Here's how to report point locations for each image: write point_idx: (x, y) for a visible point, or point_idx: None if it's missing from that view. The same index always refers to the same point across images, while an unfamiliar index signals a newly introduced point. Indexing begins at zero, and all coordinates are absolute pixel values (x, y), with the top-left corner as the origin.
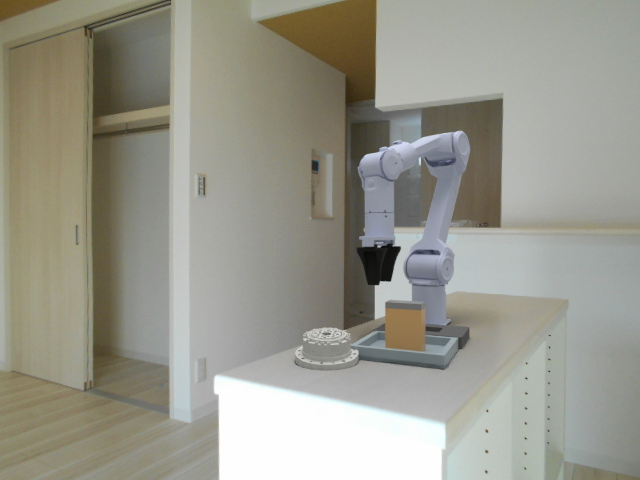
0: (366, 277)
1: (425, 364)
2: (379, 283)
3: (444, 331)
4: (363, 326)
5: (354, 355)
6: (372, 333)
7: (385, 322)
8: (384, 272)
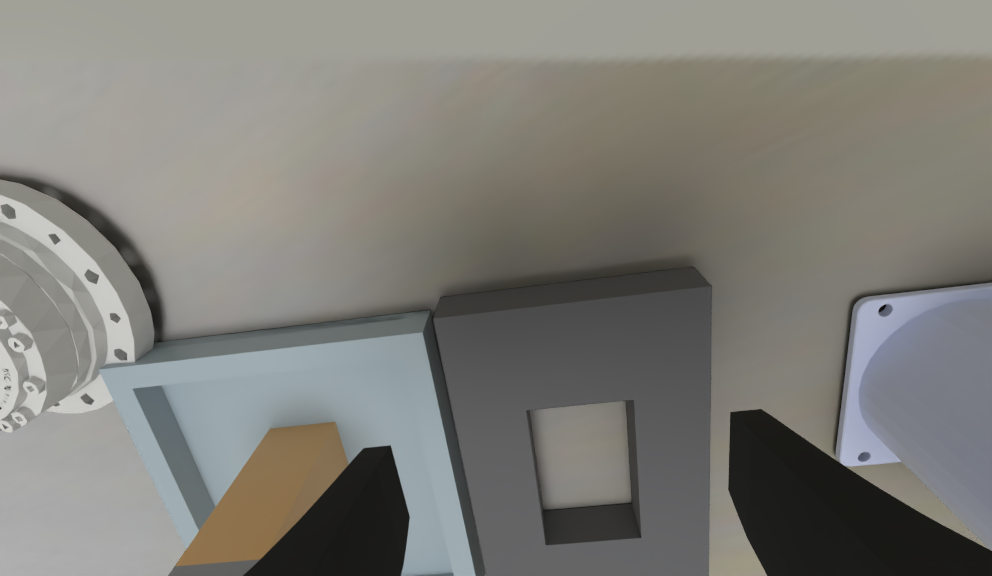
0: (329, 489)
1: None
2: (406, 530)
3: (567, 557)
4: (758, 81)
5: (76, 403)
6: (356, 349)
7: (215, 509)
8: (775, 512)
